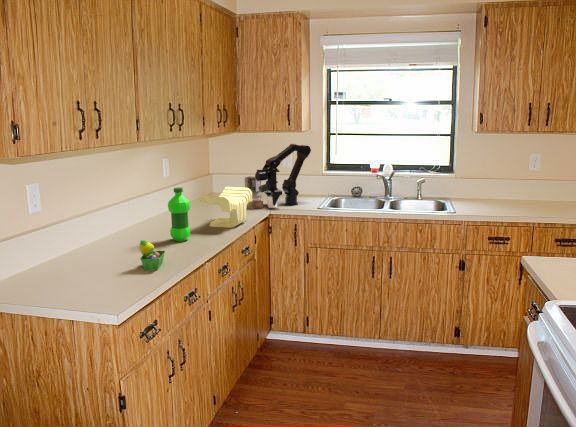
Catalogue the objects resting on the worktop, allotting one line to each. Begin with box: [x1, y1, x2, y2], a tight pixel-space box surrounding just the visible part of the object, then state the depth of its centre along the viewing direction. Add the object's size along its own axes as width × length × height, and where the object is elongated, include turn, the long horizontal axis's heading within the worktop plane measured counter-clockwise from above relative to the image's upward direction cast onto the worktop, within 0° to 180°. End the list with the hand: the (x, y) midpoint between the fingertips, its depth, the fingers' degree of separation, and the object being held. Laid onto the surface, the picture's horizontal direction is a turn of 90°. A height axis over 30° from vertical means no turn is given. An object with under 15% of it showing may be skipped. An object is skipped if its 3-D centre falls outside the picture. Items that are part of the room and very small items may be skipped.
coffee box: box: [244, 175, 262, 201], centre depth 348 cm, size 9×6×16 cm
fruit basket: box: [139, 239, 166, 271], centre depth 212 cm, size 11×9×11 cm
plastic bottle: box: [167, 187, 191, 242], centre depth 251 cm, size 10×10×25 cm
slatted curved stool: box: [200, 186, 252, 229], centre depth 283 cm, size 30×16×18 cm, turn 162°
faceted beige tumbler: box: [266, 195, 278, 209], centre depth 330 cm, size 7×7×7 cm
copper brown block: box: [246, 199, 264, 210], centre depth 330 cm, size 10×10×4 cm
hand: (272, 204), depth 330 cm, fingers closed on faceted beige tumbler, 6 cm apart
